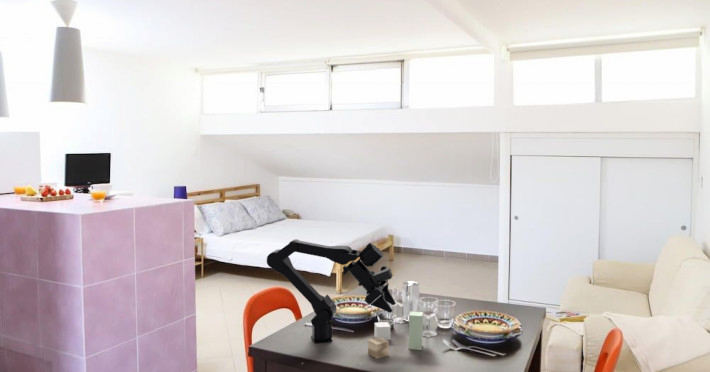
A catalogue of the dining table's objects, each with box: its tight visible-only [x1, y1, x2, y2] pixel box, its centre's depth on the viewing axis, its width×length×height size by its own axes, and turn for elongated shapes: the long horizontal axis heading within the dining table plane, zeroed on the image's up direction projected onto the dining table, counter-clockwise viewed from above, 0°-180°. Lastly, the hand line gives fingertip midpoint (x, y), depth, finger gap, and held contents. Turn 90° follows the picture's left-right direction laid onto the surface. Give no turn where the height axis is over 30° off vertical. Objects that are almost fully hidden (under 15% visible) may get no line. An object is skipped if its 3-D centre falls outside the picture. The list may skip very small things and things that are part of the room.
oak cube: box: [367, 337, 390, 360], centre depth 187 cm, size 5×5×5 cm
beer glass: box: [401, 281, 420, 323], centre depth 224 cm, size 7×7×15 cm
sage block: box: [408, 311, 424, 351], centre depth 195 cm, size 4×4×12 cm
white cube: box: [373, 321, 391, 341], centre depth 204 cm, size 5×5×5 cm
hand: (393, 307), depth 195 cm, fingers open, 9 cm apart
